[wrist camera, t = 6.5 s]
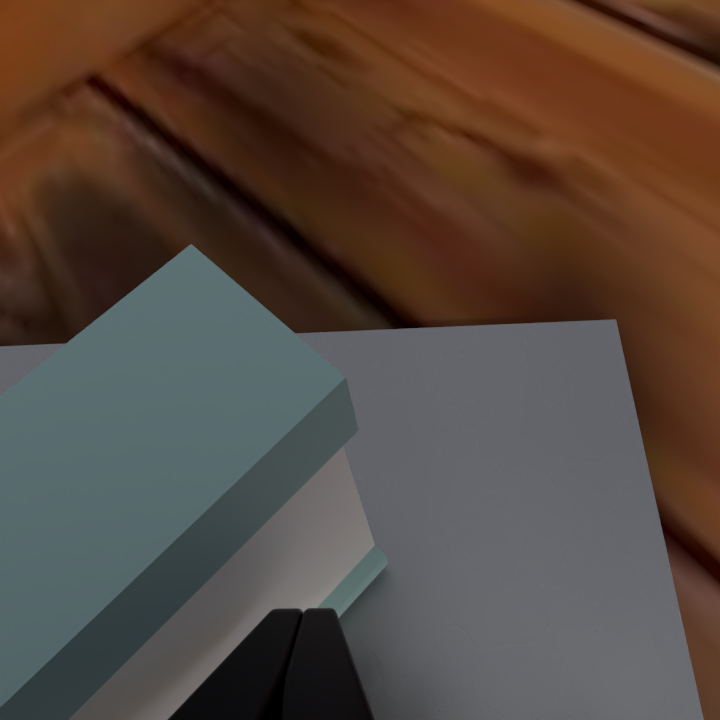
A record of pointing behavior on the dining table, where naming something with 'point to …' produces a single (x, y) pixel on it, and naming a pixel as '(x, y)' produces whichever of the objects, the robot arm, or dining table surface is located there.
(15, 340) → the dining table surface
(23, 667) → the gate
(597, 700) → the gate post
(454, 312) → the dining table surface
